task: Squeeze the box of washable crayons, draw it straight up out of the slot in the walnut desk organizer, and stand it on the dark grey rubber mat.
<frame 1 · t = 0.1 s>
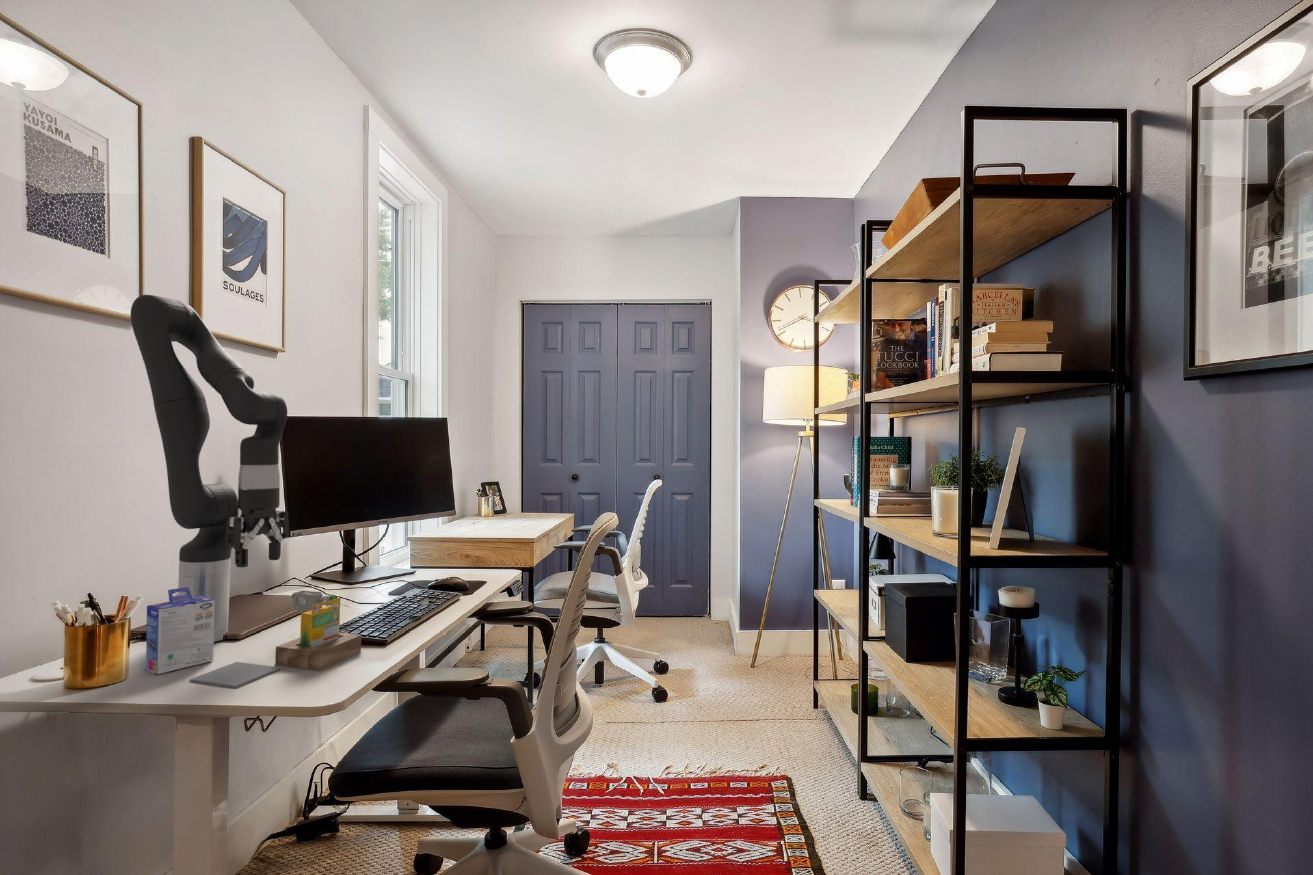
hand: (258, 563, 140), 17 cm above the table, tool pointing down, fingers open, 8 cm apart
crayon box: (319, 659, 134), resting in organizer
ink cartridge box: (179, 666, 127), on the table
mat: (236, 675, 123), on the table
organizer: (319, 657, 134), on the table
mechanical component: (312, 639, 146), on the table
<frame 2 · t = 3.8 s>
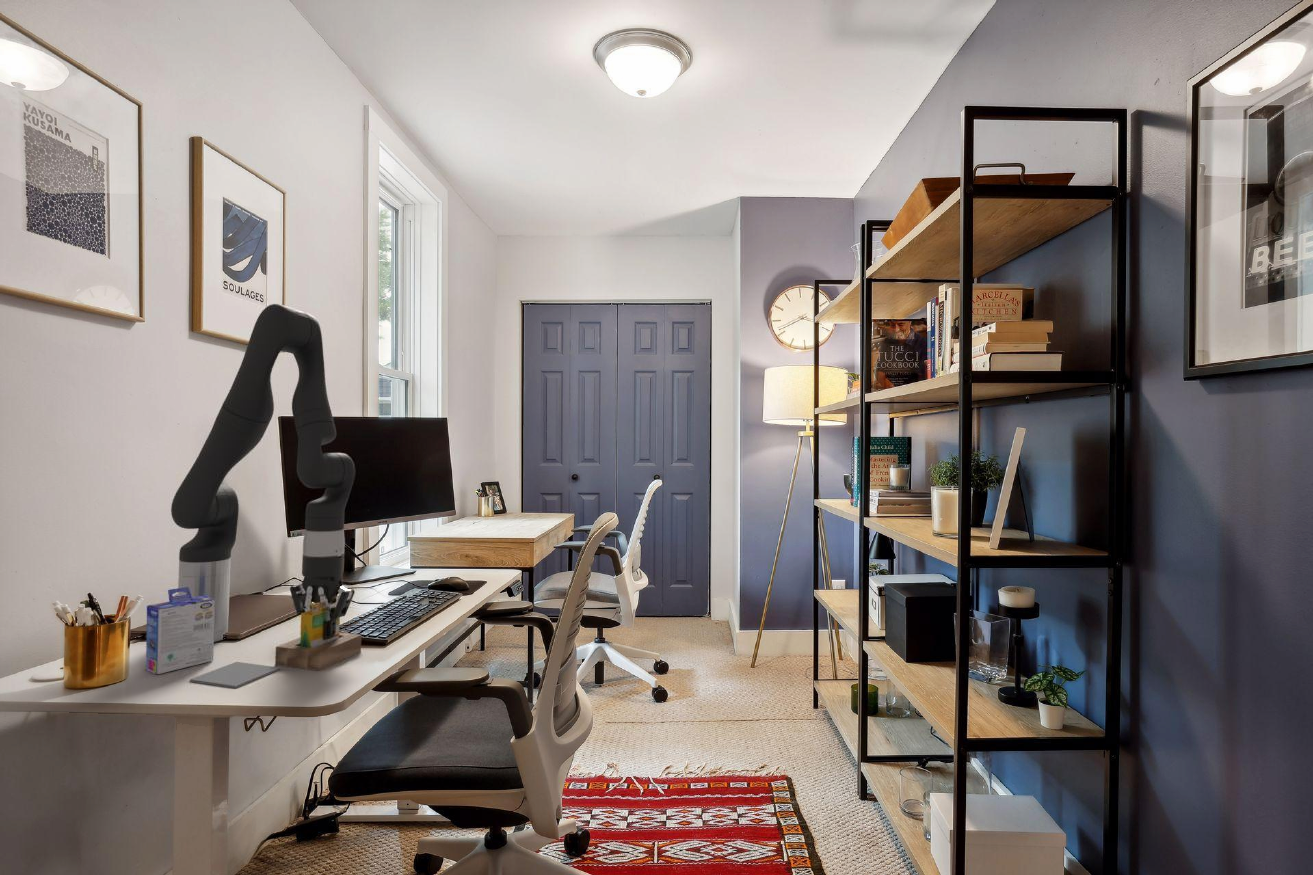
hand: (320, 636, 134), 4 cm above the table, tool pointing down, fingers closed on crayon box, 3 cm apart
crayon box: (319, 658, 134), resting in organizer, touching gripper
everything else where it was.
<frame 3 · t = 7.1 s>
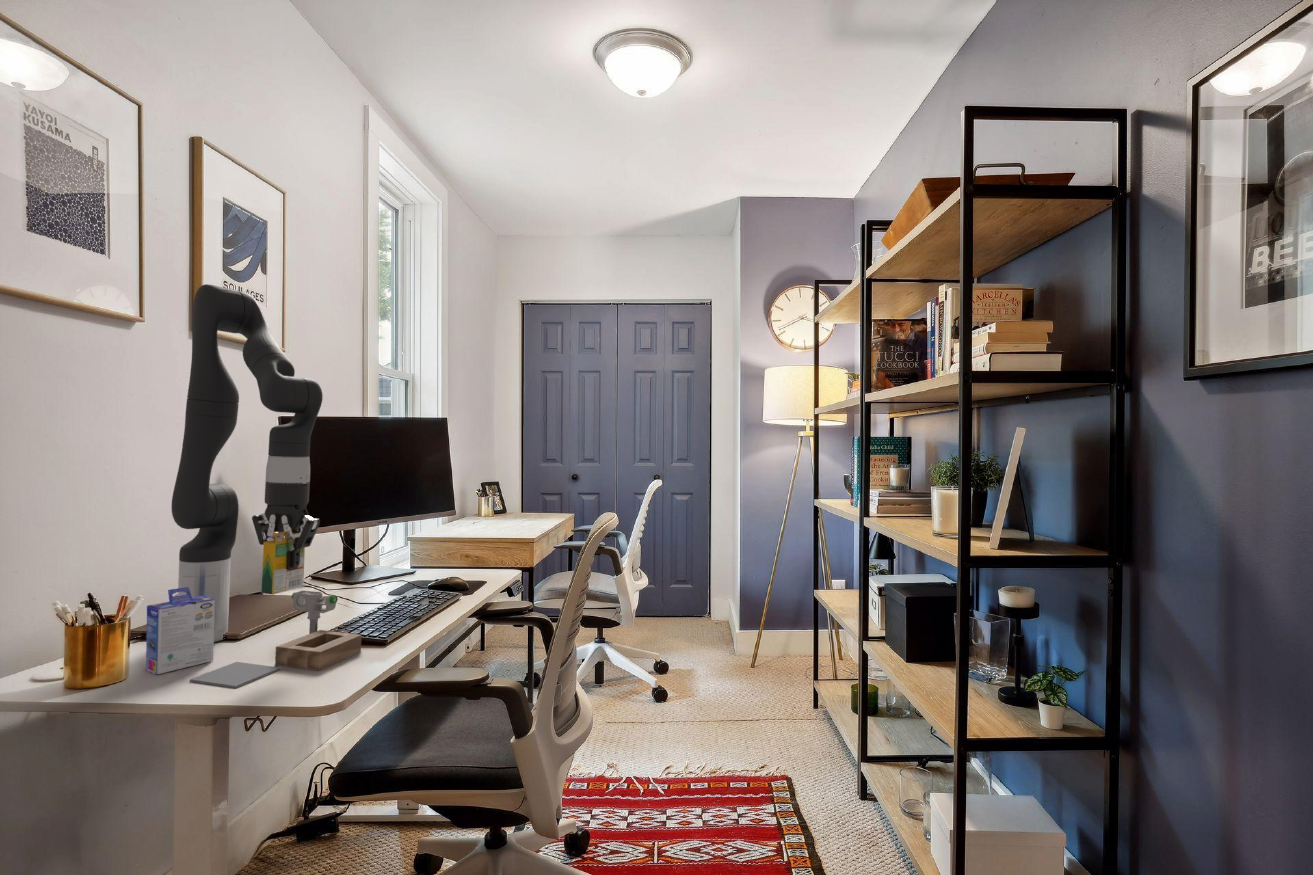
hand: (283, 568, 129), 19 cm above the table, tool pointing down, fingers closed on crayon box, 3 cm apart
crayon box: (282, 590, 129), point 14 cm above the table, touching gripper
everything else where it was.
when the fingers open (7 cm above the table, at t = 10.6 s): crayon box drops 2 cm, resting on mat.
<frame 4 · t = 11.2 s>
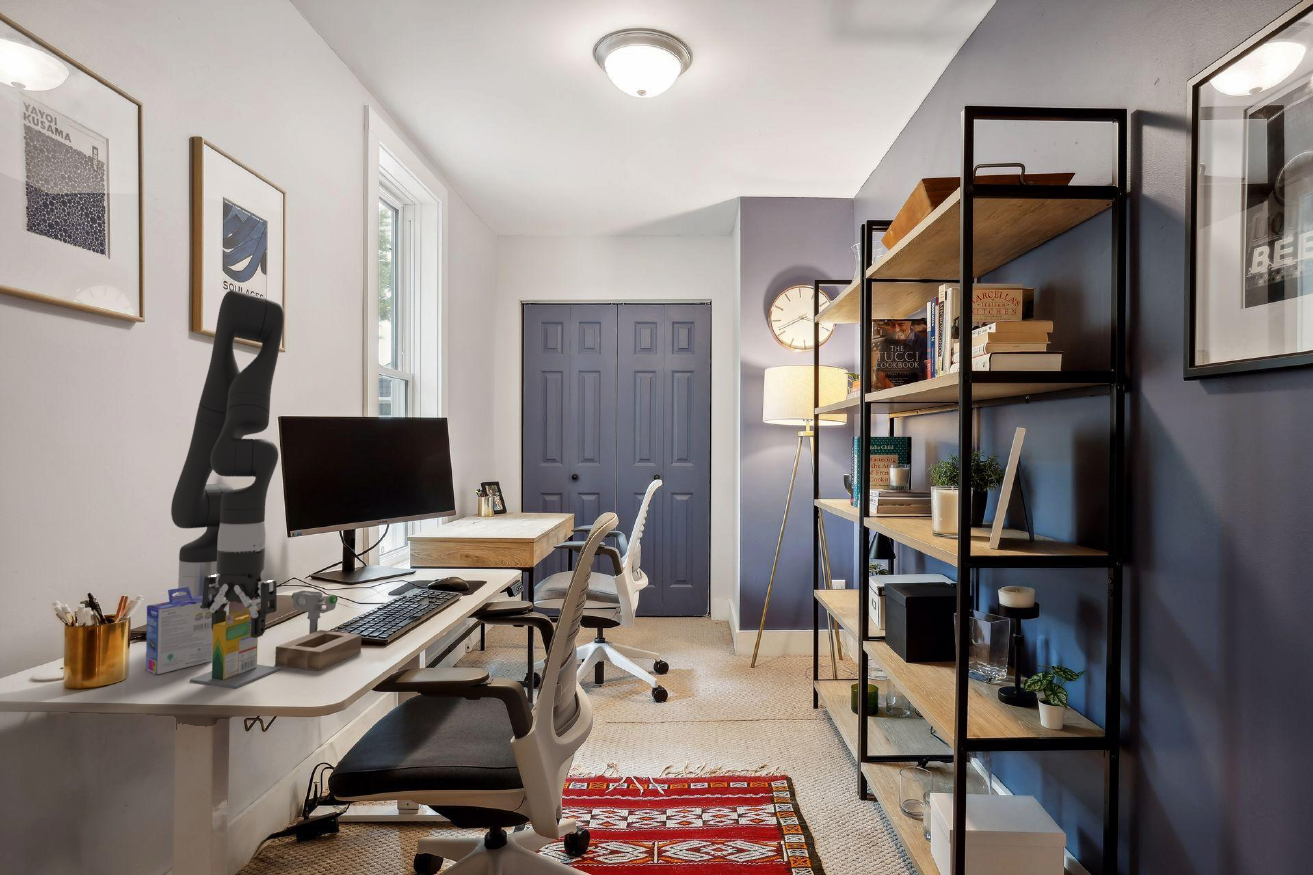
hand: (238, 634, 123), 8 cm above the table, tool pointing down, fingers open, 8 cm apart
crayon box: (234, 673, 123), resting on mat
everything else where it was.
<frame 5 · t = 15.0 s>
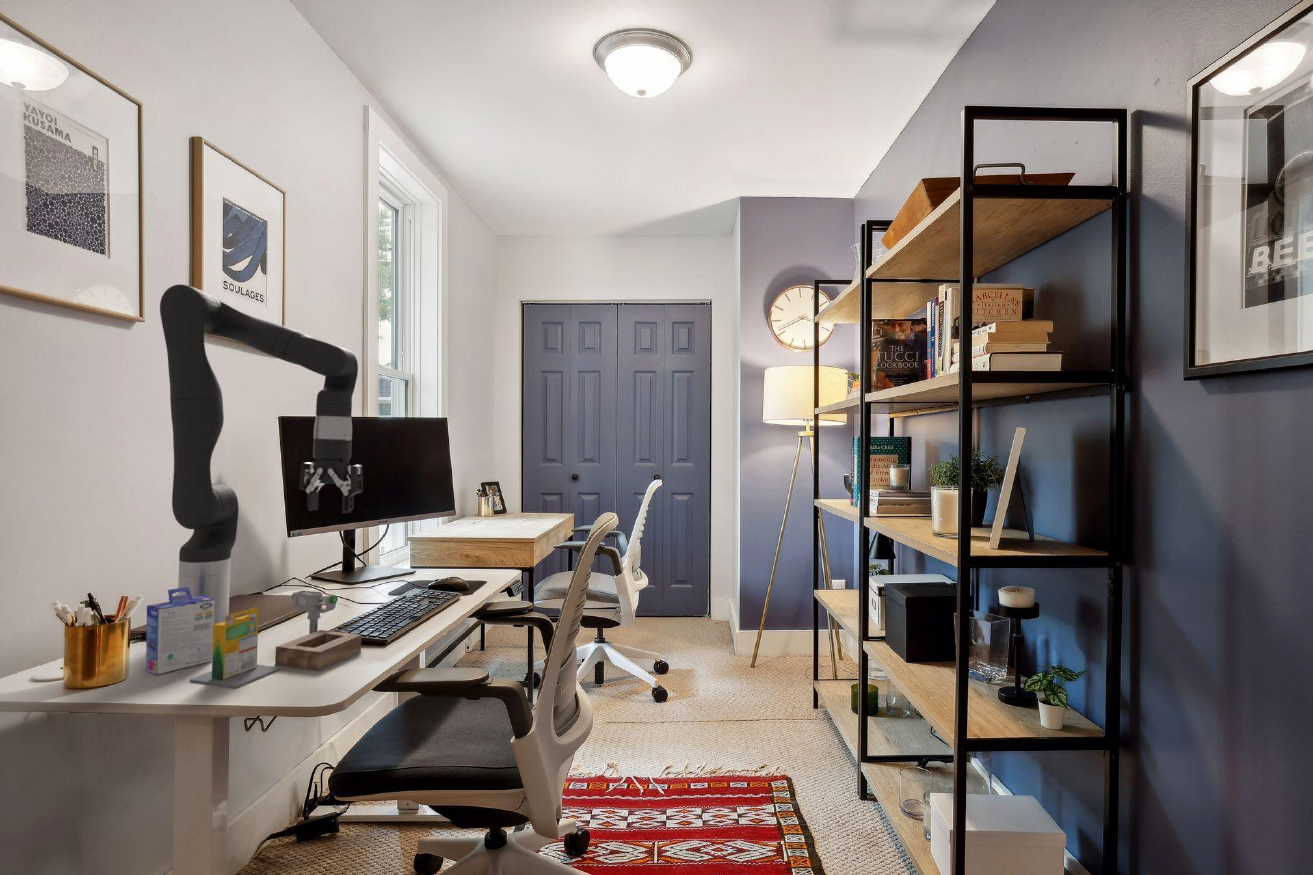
hand: (329, 511, 146), 28 cm above the table, tool pointing down, fingers open, 8 cm apart
nothing on the table moved.
at the end: crayon box inside the target area on the mat (0.5 cm from its centre), point 0.2 cm above the mat's base; crayon box tilted 0°; the gripper is holding nothing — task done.
